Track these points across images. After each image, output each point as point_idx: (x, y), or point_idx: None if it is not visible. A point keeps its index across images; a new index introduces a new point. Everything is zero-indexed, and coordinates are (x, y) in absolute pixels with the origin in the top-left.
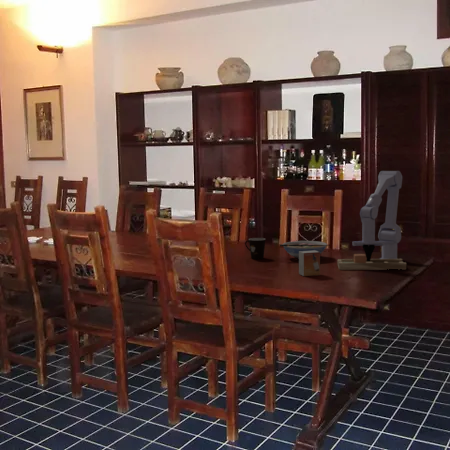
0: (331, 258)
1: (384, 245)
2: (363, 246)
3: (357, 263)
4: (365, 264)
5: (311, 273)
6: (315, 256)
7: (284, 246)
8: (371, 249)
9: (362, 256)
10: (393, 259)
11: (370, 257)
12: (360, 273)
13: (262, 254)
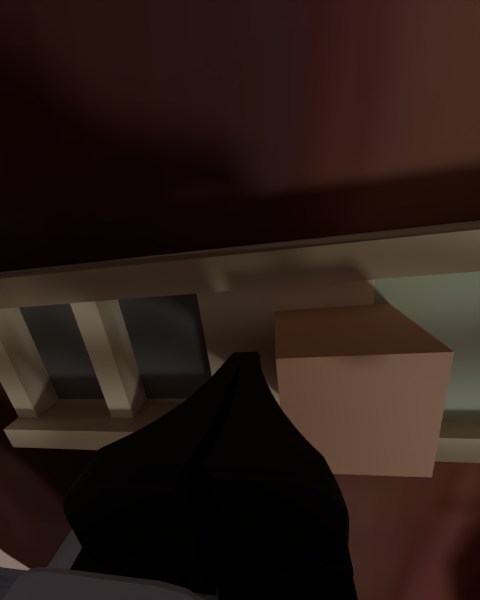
0: (471, 594)
1: None
2: (342, 564)
3: (383, 238)
4: (283, 247)
5: None
6: None
7: None
8: (163, 440)
9: (325, 349)
10: (59, 429)
11: (219, 369)
12: (352, 15)
13: None
